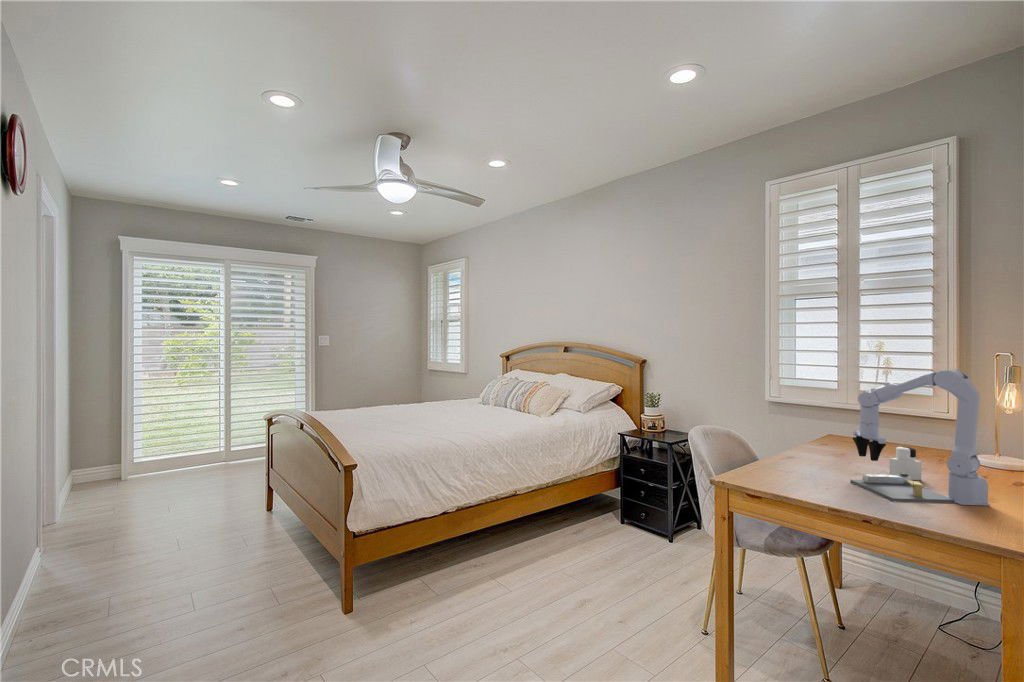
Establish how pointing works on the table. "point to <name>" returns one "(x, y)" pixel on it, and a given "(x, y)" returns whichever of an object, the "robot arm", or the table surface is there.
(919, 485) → the keeper
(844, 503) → the table surface
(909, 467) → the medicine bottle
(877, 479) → the link
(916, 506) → the table surface
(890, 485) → the board
